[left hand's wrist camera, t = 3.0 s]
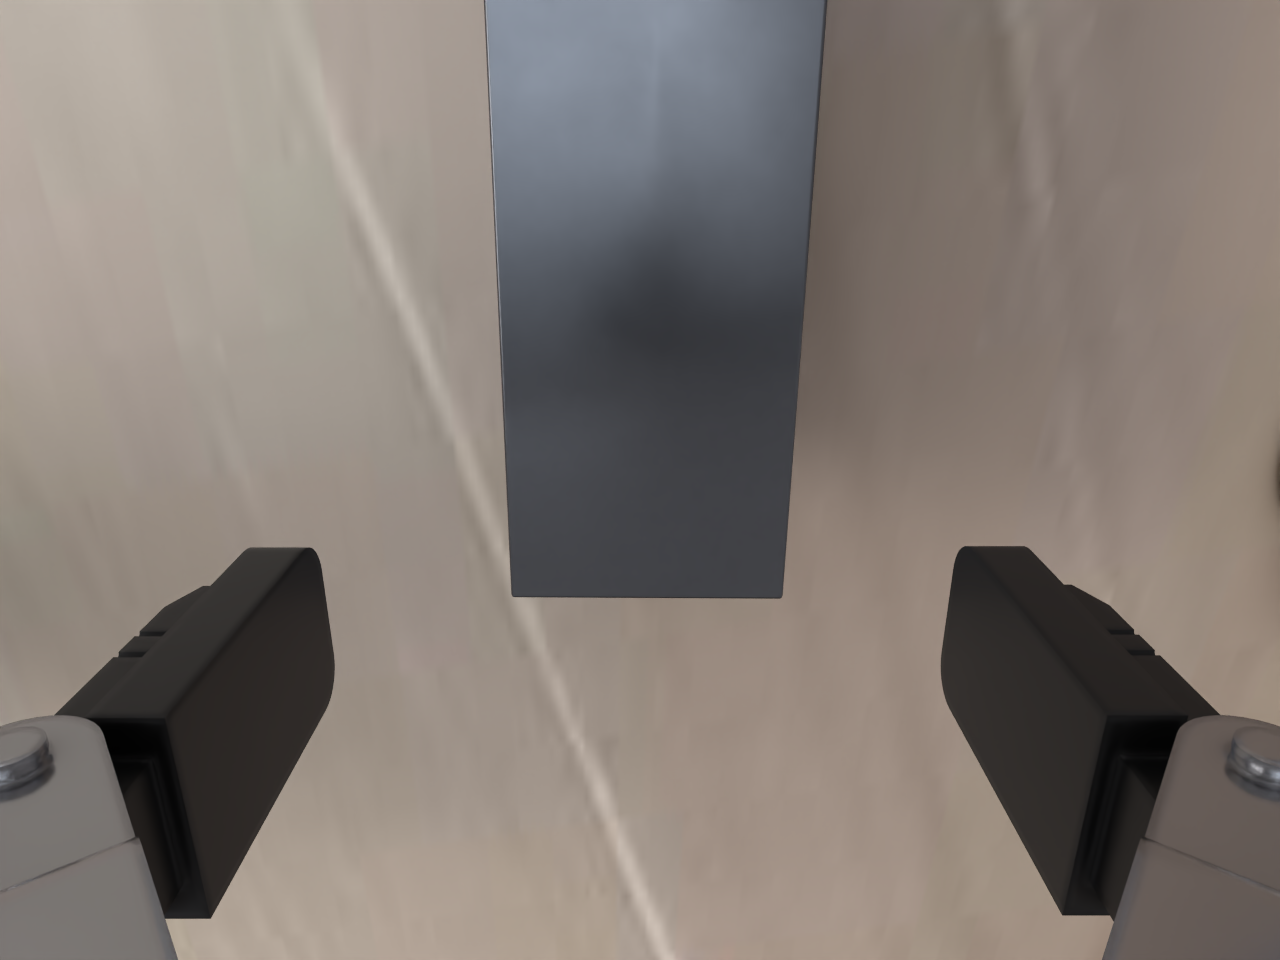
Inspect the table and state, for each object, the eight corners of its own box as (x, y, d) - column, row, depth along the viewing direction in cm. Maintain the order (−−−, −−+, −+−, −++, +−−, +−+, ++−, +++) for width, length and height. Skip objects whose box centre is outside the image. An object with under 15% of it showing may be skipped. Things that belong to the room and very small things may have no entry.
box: (729, 437, 31) (783, 599, 20) (554, 435, 31) (511, 598, 20) (767, -358, 24) (889, -812, 12) (535, -362, 24) (445, -820, 12)
